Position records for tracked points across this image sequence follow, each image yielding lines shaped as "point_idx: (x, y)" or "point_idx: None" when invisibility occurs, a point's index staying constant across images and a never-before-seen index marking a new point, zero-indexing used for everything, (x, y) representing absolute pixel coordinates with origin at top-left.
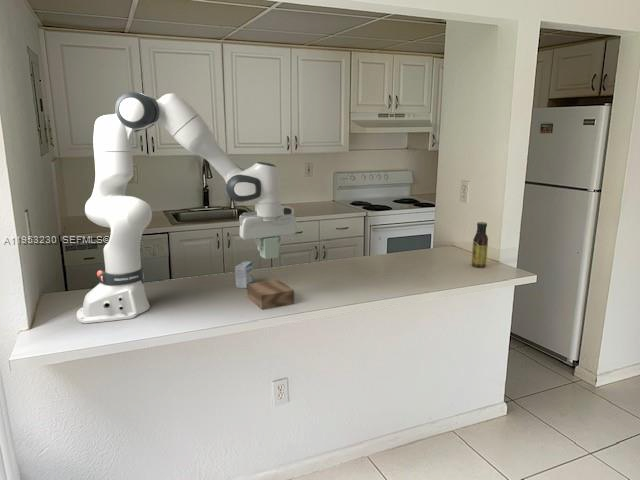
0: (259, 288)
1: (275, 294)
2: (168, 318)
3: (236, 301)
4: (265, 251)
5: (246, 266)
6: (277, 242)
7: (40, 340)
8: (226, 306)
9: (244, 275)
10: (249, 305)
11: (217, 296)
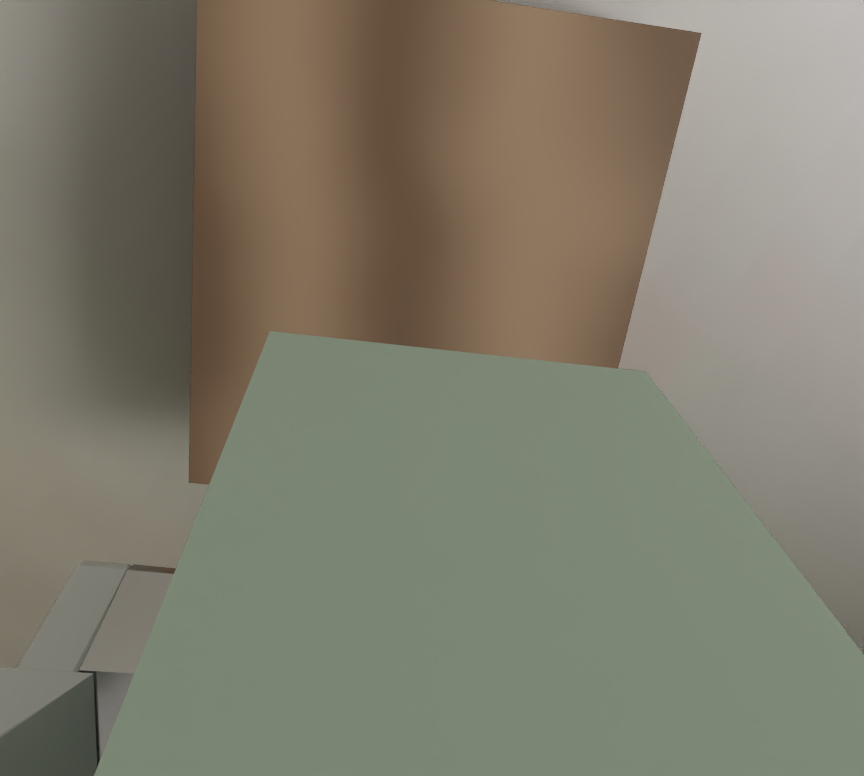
0: (554, 309)
1: (492, 2)
2: None
3: (693, 404)
4: (706, 472)
5: None
6: (211, 604)
7: None
8: (842, 340)
9: None
10: (665, 234)
11: None
